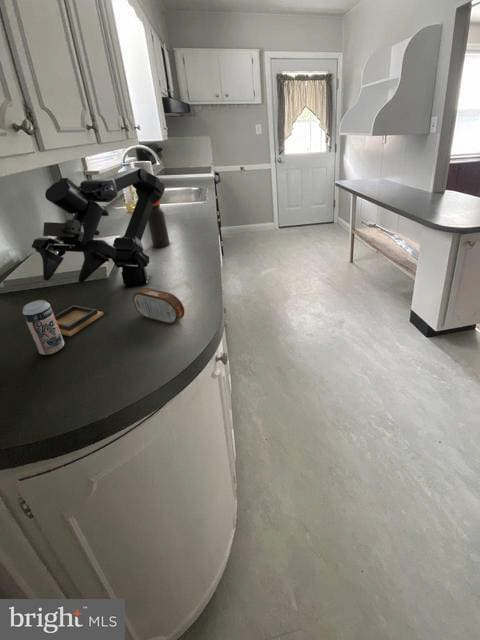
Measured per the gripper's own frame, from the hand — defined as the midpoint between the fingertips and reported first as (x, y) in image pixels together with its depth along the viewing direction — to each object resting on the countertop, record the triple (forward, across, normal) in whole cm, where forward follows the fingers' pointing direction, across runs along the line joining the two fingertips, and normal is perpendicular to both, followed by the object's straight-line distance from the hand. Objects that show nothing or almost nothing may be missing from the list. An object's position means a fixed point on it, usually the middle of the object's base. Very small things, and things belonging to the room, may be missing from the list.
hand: (62, 281), depth 72 cm
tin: (+5, +19, +14) cm, 24 cm away
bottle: (-32, -10, +51) cm, 61 cm away
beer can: (+15, 0, +4) cm, 16 cm away
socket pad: (+8, -4, +11) cm, 14 cm away
